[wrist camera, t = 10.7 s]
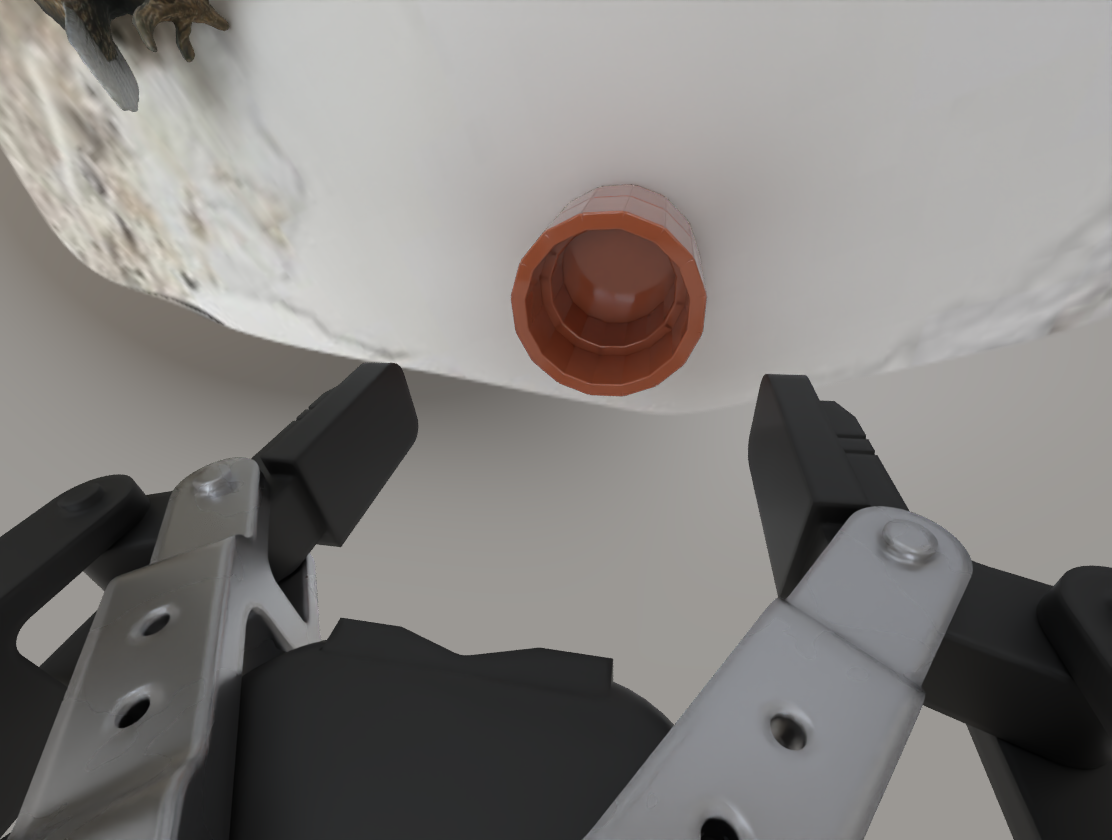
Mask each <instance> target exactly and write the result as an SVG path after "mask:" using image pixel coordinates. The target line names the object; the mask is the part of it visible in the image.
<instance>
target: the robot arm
mask: <svg viewBox="0 0 1112 840" xmlns="http://www.w3.org/2000/svg"><path fill="white" fill-rule="evenodd" d="M417 433H418V419H417V415H416V412H415V408H414V405H413V402H412V399H411V396H410V392H409V389H408V385H407V382H406V379H405V376H404V373H403V370H402V368H401V367H400V366H399V365H398V364H395V363H368V362H367V363H363V364H361V365H360V366H359V367H358V368H357V369H356V370H355V371H354V372H352V373H351V374H350V375H349V376H348V377H347V378H346V379H345V380H344V381H342V383H340V384H339V385H338V386H336V387H334V388H333V389H331V390H329V391H327V392H325V393H324V394H322V395H321V396H320V397H319V398H318V399H317V400H316V401H315V402H314V403H312V404H311V405H310V406H309V410H305V411H304V412H303V413H301V414H300V415H299V416H298V417H297V420H296V421H292V422H291V423H290V424H289V425H288V426H287V427H286V428H285V429H283V430H282V431H281V432H280V433H279V434H278V435H277V436H276V437H275V438H273V440H271V441H270V442H269V443H268V444H267V445H266V446H265V447H263V448H262V450H260V451H259V452H258V453H257V454H256V455H255V456H253V457H252V458H251V459H250V458H246V457H235V458H229V459H224V460H220V461H217V462H215V463H212V464H209V465H207V466H205V467H203V468H201V469H199V470H197V471H195V472H193V473H192V474H190V475H189V476H188V477H186V478H185V479H184V480H182V481H181V482H180V483H179V484H178V485H177V486H176V487H175V489H174V490H173V491H170V492H163V493H157V494H150V495H145V494H144V492H143V491H142V490H141V489H140V487H139V486H138V485H137V484H136V483H135V481H134V480H133V479H132V478H131V477H130V476H127V475H109V476H104V477H100V478H96V479H93V480H90V481H88V482H85V483H82V484H80V485H78V486H76V487H74V488H72V489H70V490H68V491H66V492H64V493H62V494H61V495H59V496H58V497H56V498H55V499H53V500H52V501H50V502H49V503H48V504H46V505H45V506H43V507H42V508H40V509H39V510H38V511H36V512H35V513H33V514H32V515H31V516H29V517H28V518H26V519H25V520H24V521H22V522H21V523H20V524H18V525H17V526H15V527H14V528H12V529H11V530H10V531H8V532H7V533H5V534H4V535H2V536H1V537H0V838H1V836H2V835H3V834H4V833H5V832H6V830H7V829H8V828H9V827H10V826H11V824H12V823H13V822H14V821H15V820H16V819H17V820H16V823H15V825H14V827H13V830H12V832H11V833H9V834H8V835H6V836H5V837H3V838H2V839H0V840H863V839H864V837H865V835H866V832H867V830H868V828H869V826H870V823H871V821H872V819H873V816H874V814H875V812H876V810H877V807H878V805H879V803H880V801H881V799H882V796H883V794H884V792H885V790H886V787H887V785H888V783H889V781H890V778H891V776H892V774H893V772H894V769H895V767H896V765H897V763H898V760H899V758H900V756H901V754H902V751H903V749H904V746H905V745H906V742H907V740H908V738H909V736H910V733H911V731H912V729H913V726H914V724H915V722H916V720H917V717H918V715H919V713H920V710H921V708H922V705H924V706H926V707H928V708H931V709H933V710H935V711H938V712H940V713H942V714H945V715H947V716H949V717H952V718H954V719H956V720H959V721H961V722H963V723H966V725H967V727H968V730H969V732H970V735H971V737H972V739H973V742H974V744H975V747H976V749H977V751H978V754H979V756H980V758H981V761H982V764H983V766H984V768H985V771H986V773H987V776H988V778H989V780H990V783H991V785H992V788H993V790H994V793H995V795H996V798H997V800H998V802H999V805H1000V807H1001V809H1002V812H1003V814H1004V817H1005V819H1006V821H1007V824H1008V827H1009V829H1010V831H1011V834H1012V836H1013V839H1014V840H1112V568H1109V567H1101V566H1081V567H1076V568H1073V569H1071V570H1069V571H1067V572H1066V573H1065V574H1064V575H1063V576H1062V577H1061V578H1060V579H1059V581H1058V582H1057V583H1056V584H1055V585H1054V586H1051V585H1047V584H1044V583H1041V582H1038V581H1034V580H1031V579H1028V578H1024V577H1021V576H1018V575H1015V574H1011V573H1008V572H1005V571H1001V570H998V569H995V568H991V567H988V566H985V565H982V564H980V563H976V562H974V561H972V560H971V558H970V556H969V554H968V552H967V551H966V549H965V547H964V546H963V545H962V544H961V543H960V541H959V540H958V539H957V538H955V537H954V536H953V535H952V534H951V533H950V532H948V531H947V530H946V529H944V528H943V527H942V526H940V525H938V524H937V523H935V522H933V521H931V520H929V519H927V518H925V517H923V516H921V515H918V514H916V513H913V512H910V511H909V509H908V508H907V506H906V504H905V503H904V501H903V499H902V497H901V496H900V494H899V492H898V491H897V489H896V487H895V485H894V483H893V482H892V480H891V478H890V476H889V475H888V473H887V471H886V470H885V468H884V466H883V464H882V463H881V461H880V459H879V457H878V456H877V455H875V454H874V453H875V450H874V449H873V447H872V445H871V443H870V442H869V440H868V439H866V435H865V433H864V431H863V430H862V428H861V426H860V424H859V423H858V421H857V419H856V418H855V417H854V416H853V415H852V414H851V413H849V412H848V411H847V410H845V409H844V408H843V407H841V406H840V405H839V404H837V403H836V402H835V401H820V400H819V398H818V396H817V394H816V392H815V390H814V388H813V386H812V384H811V382H810V380H809V378H808V377H807V376H806V375H780V374H765V375H764V376H763V378H762V381H761V384H760V389H759V393H758V398H757V403H756V408H755V412H754V417H753V422H752V427H751V431H750V436H749V444H748V460H749V467H750V472H751V476H752V481H753V485H754V490H755V494H756V499H757V503H758V508H759V512H760V517H761V521H762V526H763V530H764V534H765V540H766V544H767V549H768V553H769V557H770V562H771V567H772V571H773V575H774V580H775V585H776V589H777V593H778V598H776V599H775V600H774V601H773V602H772V603H771V604H770V605H769V606H768V607H767V608H766V610H765V611H764V612H763V613H762V615H761V616H760V617H759V618H758V620H757V621H756V622H755V623H754V625H753V626H752V627H751V629H750V630H749V631H748V632H747V634H746V635H745V636H744V637H743V639H742V640H741V641H740V643H739V644H738V645H737V646H736V648H735V649H734V650H733V651H732V653H731V654H730V655H729V657H728V658H727V659H726V660H725V662H724V663H723V664H722V665H721V667H720V668H719V669H718V670H717V672H716V673H715V674H714V675H713V677H712V678H711V679H710V680H709V682H708V683H707V684H706V686H705V687H704V688H703V689H702V691H701V692H700V693H699V694H698V696H697V697H696V698H695V699H694V701H693V702H692V703H691V705H690V706H689V707H688V708H687V709H686V711H685V712H684V713H683V715H682V716H681V717H680V718H679V720H678V721H677V722H676V723H675V725H674V724H673V723H672V722H671V721H670V720H669V719H668V718H667V717H666V716H665V715H664V714H663V713H662V712H661V711H659V710H658V709H657V708H655V707H654V706H653V705H652V704H651V703H649V702H648V701H647V700H646V699H644V698H642V697H641V696H639V695H638V694H636V693H634V692H633V691H631V690H630V689H628V688H625V687H623V686H621V685H619V684H617V683H615V682H613V659H612V658H605V657H598V656H592V655H585V654H579V653H572V652H565V651H558V650H552V649H545V648H532V649H523V650H514V651H505V652H497V653H487V654H478V655H459V654H456V653H454V652H452V651H450V650H448V649H446V648H444V647H442V646H440V645H438V644H436V643H433V642H431V641H429V640H427V639H425V638H423V637H421V636H419V635H417V634H415V633H413V632H411V631H409V630H407V629H405V628H403V627H400V626H393V625H386V624H379V623H373V622H366V621H360V620H353V619H346V618H340V620H339V621H338V623H337V625H336V626H335V628H334V630H333V631H332V633H331V635H330V636H329V638H328V639H327V640H323V641H321V636H320V629H319V613H318V599H317V583H316V569H315V561H314V559H313V557H312V555H311V554H310V551H311V550H312V549H313V547H314V546H315V545H316V544H319V545H328V546H337V547H341V546H342V545H343V543H344V542H345V541H346V539H347V538H348V536H349V535H350V533H351V532H352V531H353V529H354V528H355V526H356V525H357V523H358V522H359V521H360V519H361V518H362V516H363V515H364V514H365V512H366V511H367V509H368V508H369V506H370V505H371V504H372V502H373V501H374V499H375V498H376V496H377V495H378V494H379V492H380V491H381V489H382V488H383V486H384V485H385V484H386V482H387V481H388V479H389V478H390V476H391V475H392V474H393V472H394V471H395V469H396V468H397V467H398V465H399V464H400V462H401V461H402V459H403V458H404V457H405V455H406V454H407V452H408V451H409V449H410V448H411V447H412V445H413V444H414V442H415V440H416V437H417ZM82 571H83V572H85V573H86V574H87V575H88V576H89V577H90V578H91V579H92V580H93V581H94V582H95V583H96V584H97V585H98V586H100V587H101V588H102V589H103V590H104V591H105V592H104V595H103V597H102V600H101V602H100V605H99V608H98V610H97V611H96V612H95V613H94V614H93V615H92V616H91V617H90V618H89V619H88V620H87V621H86V622H85V623H84V624H82V626H80V627H79V628H78V629H77V630H76V631H75V632H74V633H73V634H72V635H71V636H70V637H69V638H68V639H67V640H66V641H65V642H64V643H63V644H62V645H61V646H60V647H59V648H58V649H57V650H56V651H55V652H54V653H53V654H52V655H51V656H50V657H49V658H48V659H47V660H46V661H45V662H44V663H43V664H42V665H41V666H40V667H38V666H36V665H35V664H34V663H32V662H31V661H29V660H28V659H26V658H25V657H23V656H22V655H21V654H20V653H19V652H18V650H17V647H16V639H17V635H18V633H19V631H20V629H21V628H22V626H23V625H24V624H25V622H26V621H27V620H28V619H29V618H30V617H31V616H32V615H33V614H35V613H36V612H37V611H38V610H39V609H40V608H41V607H43V606H44V605H45V604H46V603H47V602H48V601H50V600H51V599H52V598H53V597H54V596H55V595H56V594H57V593H59V592H60V591H61V590H62V589H63V588H64V587H65V586H66V585H68V584H69V583H70V582H71V581H72V580H73V579H75V577H77V576H78V575H79V574H80V573H81V572H82ZM17 817H18V818H17Z"/></svg>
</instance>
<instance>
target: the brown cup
mask: <svg viewBox="0 0 1112 840" xmlns="http://www.w3.org/2000/svg"><path fill="white" fill-rule="evenodd" d="M706 300H707V295H706V288H705V282H704V277H703V271H702V266H701V260H700V254H699V250H698V247H697V244H696V241H695V238H694V235H693V232H692V229H691V226H690V223H688V220H687V219H686V218H685V217H684V216H683V215H682V214H681V212H680V211H679V210H678V209H677V208H676V207H675V206H674V205H673V204H672V203H671V202H670V201H669V200H668V199H667V198H665V196H663V195H660V194H658V193H655V192H653V191H650V190H648V189H645V188H643V187H640V186H638V185H634V186H633V185H632V184H629V185H611V186H601V187H597V188H595V189H593V190H591V191H589V192H587V193H586V194H584V195H582V196H580V197H578V198H576V199H574V200H572V201H571V202H570V203H569V204H567V206H566V207H565V208H564V209H563V210H562V211H561V213H560V214H559V215H558V216H557V217H556V218H555V219H554V221H553V222H552V223H551V224H550V225H549V226H548V227H547V229H546V230H545V231H544V232H543V233H542V235H541V236H540V237H539V238H538V239H537V241H536V242H535V243H534V244H533V246H532V247H531V248H530V249H529V251H528V252H527V253H526V254H525V256H524V257H523V258H522V259H521V262H520V263H519V267H518V271H517V274H516V278H515V282H514V286H513V289H512V293H511V303H512V310H513V317H514V324H515V330H516V333H517V335H518V337H519V339H520V340H521V342H522V344H523V346H524V348H525V349H526V351H527V353H528V355H529V356H530V358H531V360H532V361H533V362H534V363H535V364H536V365H538V366H539V367H540V368H541V369H542V370H543V371H545V372H546V373H547V374H548V375H549V376H551V377H552V378H553V379H554V380H555V381H556V382H559V383H560V384H562V385H565V386H567V387H570V388H573V389H575V390H578V391H580V392H583V393H586V394H590V395H600V396H623V395H624V396H626V395H629V394H633V393H636V392H639V391H642V390H646V389H649V388H652V387H655V386H656V385H658V384H660V383H661V382H662V381H664V380H665V379H666V378H668V377H669V376H670V375H671V374H673V373H674V372H675V371H677V370H678V369H679V368H681V367H682V366H683V365H684V364H685V363H686V361H687V359H688V358H689V356H690V354H691V352H692V351H693V349H694V347H695V346H696V344H697V342H698V340H699V339H700V337H701V335H702V332H703V327H704V318H705V309H706Z"/></svg>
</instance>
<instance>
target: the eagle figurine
mask: <svg viewBox="0 0 1112 840" xmlns="http://www.w3.org/2000/svg"><path fill="white" fill-rule="evenodd" d="M34 1H35V2H36V3H37V4H38V5H39V6H40V7H41V9H42V10H43V11H44V12H45V13H46V14H48V15H49V16H51V17H52V18H53V19H54V20H55V21H56V22H57V23H58V24H60V25H61V27H62V28H63V29H64V30H65V31H66V34H67V37H68V40H69V42H70V44H71V45H72V46H73V47H74V49H75V50H76V51H77V53H78V54H79V56H80V57H81V59H82V61H83V62H84V63H85V65H86V66H87V67H88V68H89V70H90V71H91V73H92V74H93V75H94V77H95V78H96V79H97V80H98V82H99V83H100V84H101V85H102V87H103V88H104V89H105V90H106V92H107V93H108V95H109V96H110V97H111V98H112V99H113V100H114V101H115V102H116V104H117V106H118V107H120V108H121V109H122V110H124V111H127V110H130V111H132V112H136V111H137V110H138V102H139V88H138V84H137V81H136V79H135V77H134V75H133V73H132V71H131V69H130V67H129V65H128V64H127V62H126V60H125V59H124V57H123V55H122V54H121V52H120V50H119V49H118V47H117V46H116V44H115V43H114V41H113V39H112V35H111V29H110V23H111V20H112V19H115V18H116V17H119V16H123V15H126V14H130V15H133V20H132V21H133V24H134V26H135V27H136V29H137V30H138V33H139V35H140V37H141V38H142V40H143V42H144V44H145V45H146V46H147V48H148V49H149V50H151V51H153V52H157V47H156V44H155V41H154V39H153V31H154V28H155V27H156V25H157V24H158V23H160V22H163V21H172V22H174V24H175V27H176V43H177V46H178V48H179V50H180V52H181V54H182V56H183V58H184V59H185V60H186V61H187V62H192V61H193V59H194V57H195V53H194V49H193V47H192V45H191V43H190V41H189V35H190V33H191V24H192V22H195V23H205V24H208V25H210V26H213V27H215V28H217V29H219V30H223V31H225V30H228V29H229V24H228V22H227V21H226V20H225V19H224V18H223V17H222V16H220V15H219V14H218V13H217V12H216V11H215V10H214V9H213V7H212V6H211V5H210V4H209V0H34Z"/></svg>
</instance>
